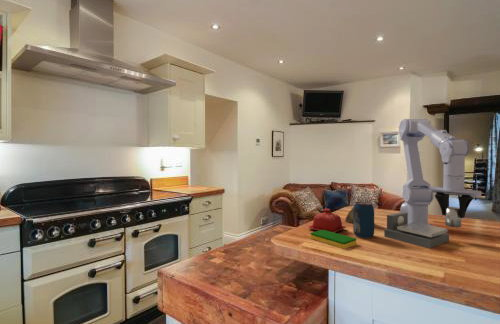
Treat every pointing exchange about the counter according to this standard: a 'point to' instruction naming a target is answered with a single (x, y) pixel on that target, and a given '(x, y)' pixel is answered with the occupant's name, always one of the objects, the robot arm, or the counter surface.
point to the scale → (408, 237)
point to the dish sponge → (333, 239)
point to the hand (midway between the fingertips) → (453, 216)
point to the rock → (351, 215)
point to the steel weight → (452, 217)
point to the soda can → (363, 219)
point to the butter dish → (327, 222)
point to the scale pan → (422, 229)
